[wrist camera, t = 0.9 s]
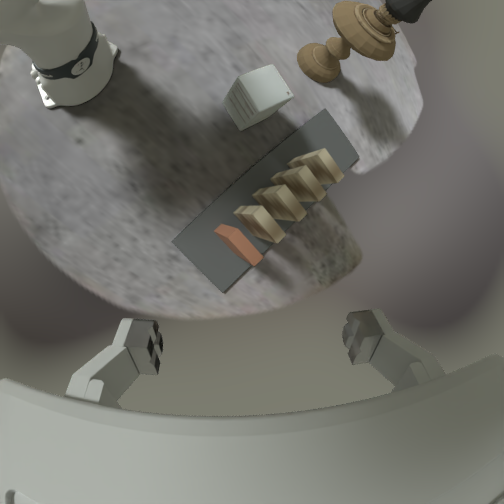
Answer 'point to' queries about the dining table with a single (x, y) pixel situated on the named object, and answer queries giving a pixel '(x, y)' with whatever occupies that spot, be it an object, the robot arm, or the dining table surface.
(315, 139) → the mat
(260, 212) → the domino
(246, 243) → the domino
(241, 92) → the supplement box
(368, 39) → the oil lamp
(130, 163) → the dining table surface
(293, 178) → the domino
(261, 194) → the domino
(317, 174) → the domino
